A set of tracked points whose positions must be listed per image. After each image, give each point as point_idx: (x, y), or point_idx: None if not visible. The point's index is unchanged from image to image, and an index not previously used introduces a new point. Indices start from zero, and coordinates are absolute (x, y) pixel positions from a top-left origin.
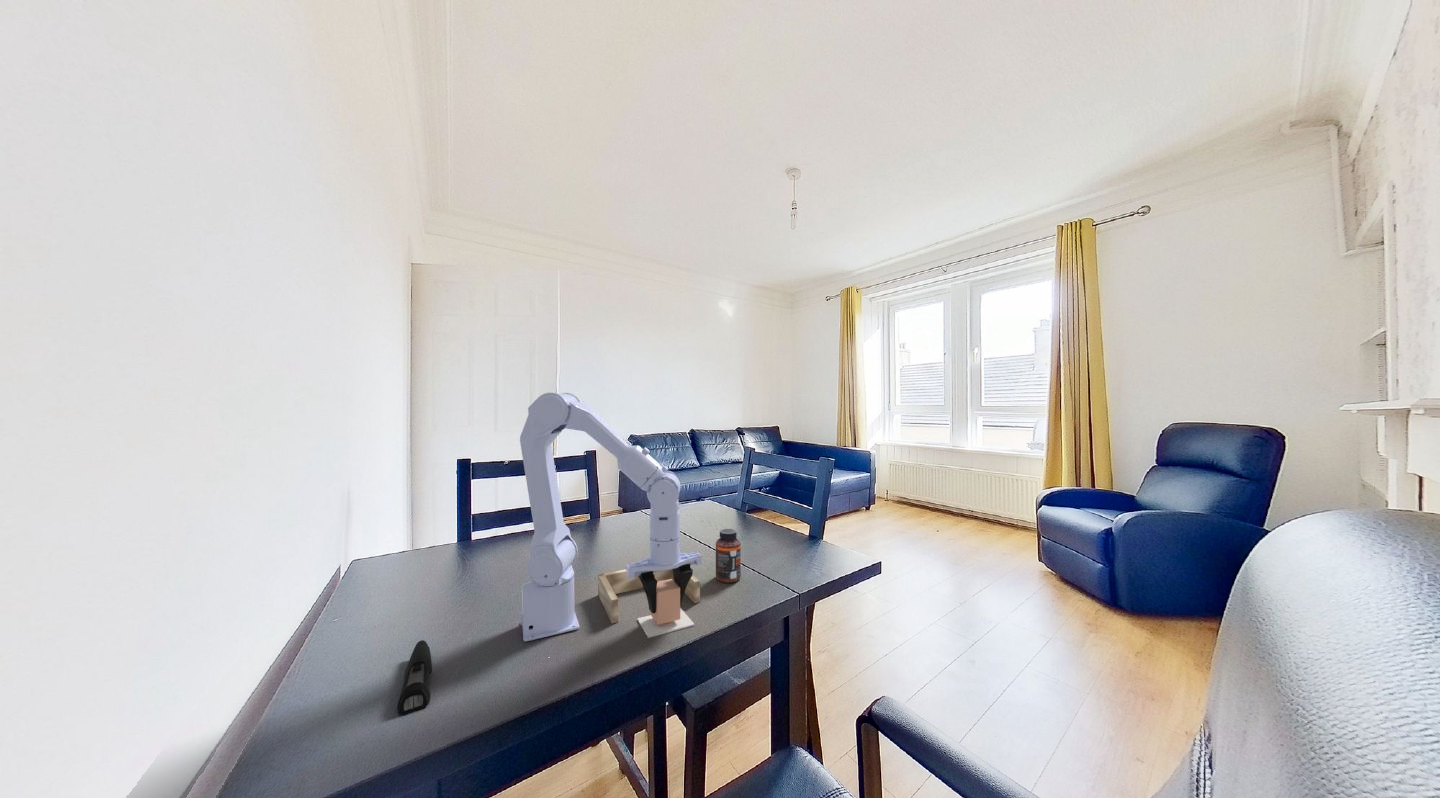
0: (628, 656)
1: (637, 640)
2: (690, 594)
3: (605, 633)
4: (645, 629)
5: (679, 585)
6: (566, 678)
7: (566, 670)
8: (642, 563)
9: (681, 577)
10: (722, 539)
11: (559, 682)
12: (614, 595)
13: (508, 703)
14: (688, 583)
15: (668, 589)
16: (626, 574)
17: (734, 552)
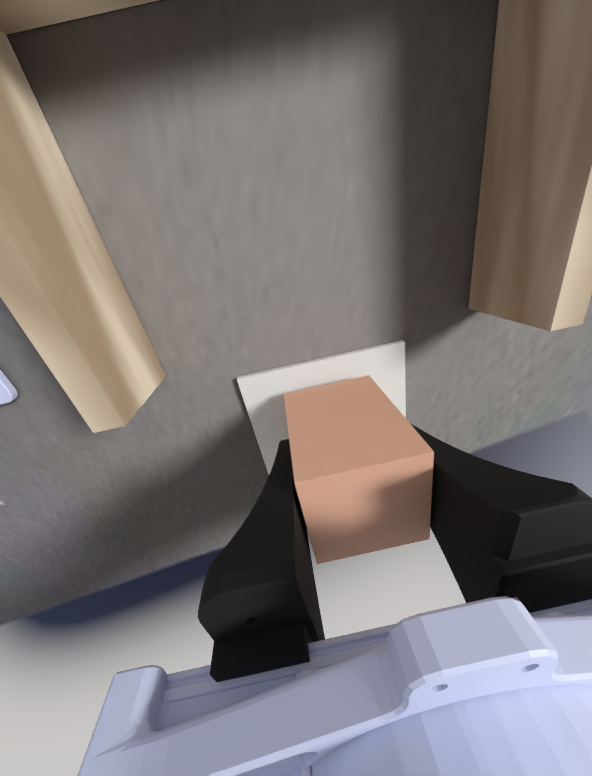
0: (219, 522)
1: (239, 475)
2: (487, 263)
3: (135, 430)
4: (262, 445)
5: (435, 527)
6: (91, 561)
7: (79, 544)
8: (234, 737)
9: (467, 599)
10: None
11: (81, 568)
12: (92, 389)
13: (3, 598)
14: (531, 231)
15: (373, 547)
16: (113, 689)
17: None
